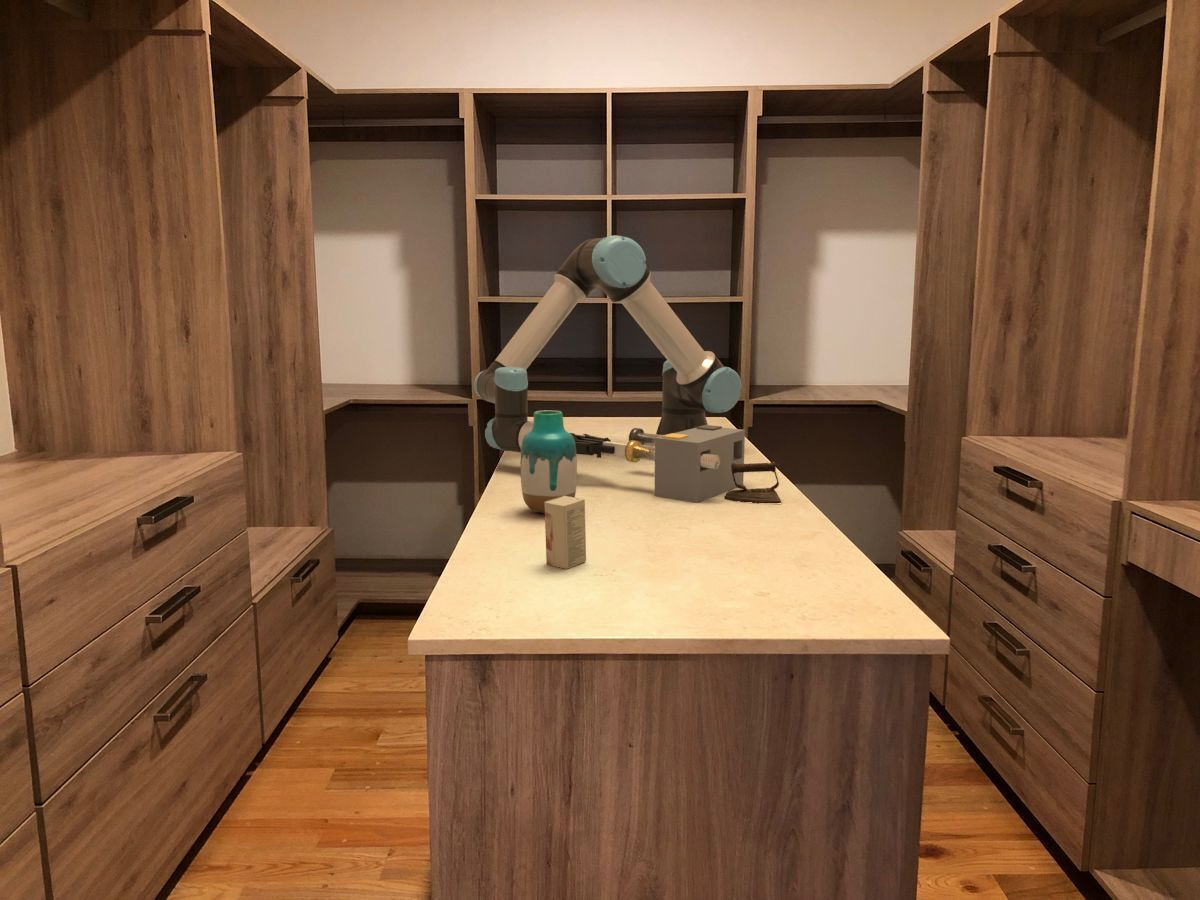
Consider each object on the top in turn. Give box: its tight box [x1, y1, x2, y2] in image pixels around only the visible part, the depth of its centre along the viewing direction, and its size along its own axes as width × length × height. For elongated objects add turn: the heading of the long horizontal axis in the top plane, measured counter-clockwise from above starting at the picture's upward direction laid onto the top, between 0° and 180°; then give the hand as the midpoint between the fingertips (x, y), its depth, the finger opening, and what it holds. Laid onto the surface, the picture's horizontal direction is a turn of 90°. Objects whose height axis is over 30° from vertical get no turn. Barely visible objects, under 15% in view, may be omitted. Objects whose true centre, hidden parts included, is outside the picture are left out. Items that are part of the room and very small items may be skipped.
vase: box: [519, 409, 578, 514], centre depth 166 cm, size 11×11×19 cm
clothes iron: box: [724, 460, 782, 504], centre depth 177 cm, size 7×11×10 cm, turn 87°
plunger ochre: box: [625, 440, 720, 469], centre depth 181 cm, size 5×20×5 cm, turn 54°
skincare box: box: [544, 496, 587, 570], centre depth 136 cm, size 5×4×10 cm
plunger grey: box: [628, 427, 663, 447], centre depth 197 cm, size 5×20×5 cm, turn 54°
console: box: [653, 424, 746, 504], centre depth 185 cm, size 20×10×12 cm, turn 144°
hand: (629, 451), depth 187 cm, fingers closed
